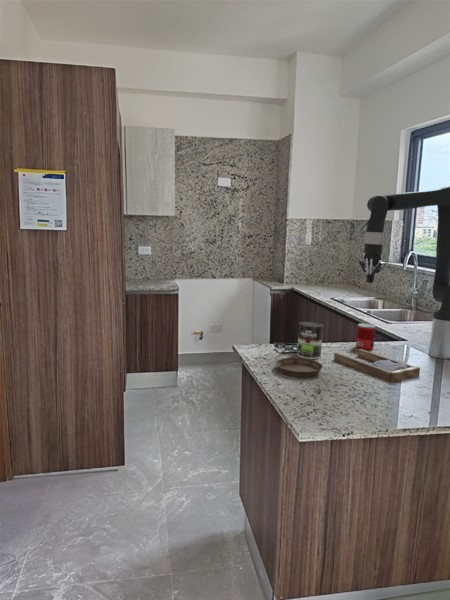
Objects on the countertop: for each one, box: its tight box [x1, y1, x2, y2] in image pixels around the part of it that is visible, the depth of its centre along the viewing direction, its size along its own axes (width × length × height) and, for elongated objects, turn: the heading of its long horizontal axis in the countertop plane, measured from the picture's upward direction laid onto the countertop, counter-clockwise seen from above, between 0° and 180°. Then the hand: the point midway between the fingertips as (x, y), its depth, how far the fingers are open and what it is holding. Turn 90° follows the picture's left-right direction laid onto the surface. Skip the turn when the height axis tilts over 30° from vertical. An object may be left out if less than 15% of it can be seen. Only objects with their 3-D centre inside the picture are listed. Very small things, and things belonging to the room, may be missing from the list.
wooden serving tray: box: [333, 348, 421, 383], centre depth 185 cm, size 16×30×3 cm, turn 32°
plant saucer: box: [275, 357, 324, 378], centre depth 176 cm, size 18×18×3 cm
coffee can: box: [296, 321, 325, 360], centre depth 196 cm, size 10×10×14 cm
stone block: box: [372, 360, 407, 372], centre depth 180 cm, size 12×5×10 cm
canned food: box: [355, 322, 376, 351], centre depth 214 cm, size 8×8×11 cm
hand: (369, 282), depth 200 cm, fingers closed
